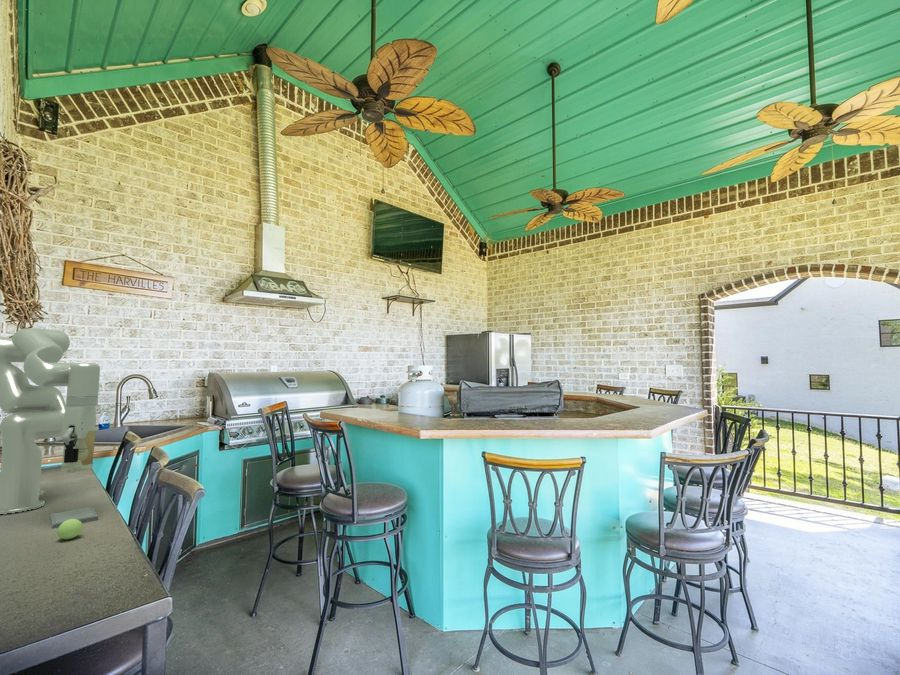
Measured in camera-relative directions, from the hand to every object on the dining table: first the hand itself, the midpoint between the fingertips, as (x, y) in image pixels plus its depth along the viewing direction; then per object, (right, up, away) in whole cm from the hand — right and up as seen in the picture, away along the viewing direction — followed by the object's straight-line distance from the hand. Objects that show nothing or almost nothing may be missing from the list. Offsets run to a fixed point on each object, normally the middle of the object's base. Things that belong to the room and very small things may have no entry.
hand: (78, 459), depth 129 cm
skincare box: (0, -4, 0) cm, 4 cm away
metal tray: (0, -18, -2) cm, 18 cm away
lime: (+14, -16, -18) cm, 28 cm away
